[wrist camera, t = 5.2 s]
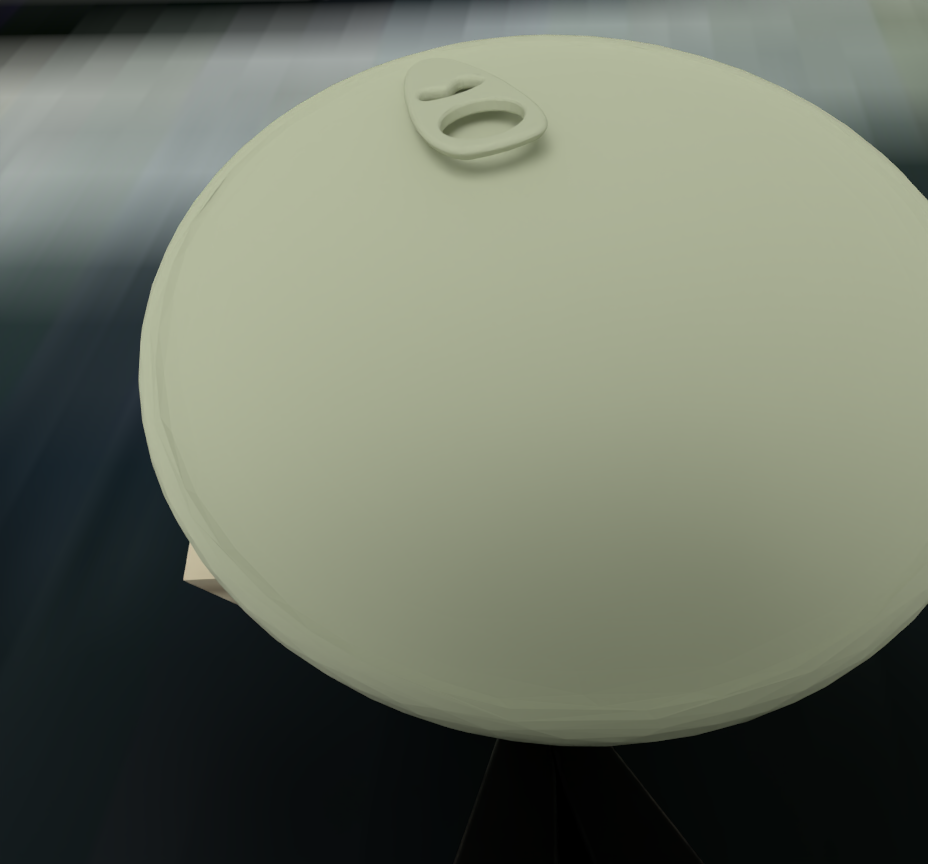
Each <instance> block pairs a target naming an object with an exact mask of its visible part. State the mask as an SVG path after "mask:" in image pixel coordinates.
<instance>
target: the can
mask: <svg viewBox="0 0 928 864" xmlns="http://www.w3.org/2000/svg"><path fill="white" fill-rule="evenodd" d="M139 390H140V401H141V412H142V422H143V426H144V431H145V435H146V439H147V444H148V448H149V452H150V457H151V461H152V464H153V467H154V469H155V472H156V475H157V478H158V481H159V483H160V486H161V489H162V492H163V495H164V497H165V498H166V500H167V502H168V504H169V506H170V508H171V510H172V512H173V514H174V516H175V518H176V520H177V522H178V523H179V525H180V527H181V528H182V530H183V532H184V533H185V535H186V537H187V538H188V540H189V542H190V543H191V545H192V546H193V548H194V550H195V551H196V553H197V555H198V556H199V558H200V559H201V561H202V562H203V564H204V565H205V566H206V568H207V569H208V570H209V571H210V573H211V574H212V575H213V576H214V578H215V579H216V580H217V581H218V583H219V584H220V585H221V586H222V587H223V588H224V589H225V591H226V592H227V593H228V594H229V595H230V596H231V597H232V598H233V599H234V600H235V602H236V603H237V604H238V605H239V606H240V607H241V608H242V609H243V610H244V611H245V612H246V613H247V614H248V615H249V616H250V617H251V618H252V619H253V620H254V621H256V622H257V623H258V624H259V625H260V626H261V627H262V628H263V629H264V630H266V631H267V632H268V633H269V634H270V635H271V636H272V637H273V638H275V639H276V640H277V641H278V642H280V643H281V644H282V645H284V646H285V647H286V648H288V649H289V650H291V651H292V652H294V653H295V654H297V655H298V656H300V657H301V658H303V659H304V660H306V661H307V662H309V663H310V664H312V665H313V666H315V667H316V668H318V669H319V670H321V671H322V672H324V673H325V674H327V675H328V676H330V677H332V678H334V679H336V680H337V681H339V682H341V683H343V684H345V685H347V686H348V687H350V688H352V689H354V690H356V691H358V692H359V693H361V694H363V695H365V696H367V697H368V698H370V699H373V700H375V701H378V702H380V703H382V704H385V705H387V706H389V707H392V708H394V709H396V710H399V711H401V712H404V713H406V714H409V715H412V716H415V717H418V718H421V719H424V720H427V721H430V722H433V723H436V724H439V725H442V726H445V727H448V728H452V729H456V730H460V731H464V732H468V733H473V734H479V735H484V736H489V737H494V738H499V739H504V740H510V741H517V742H526V743H536V744H545V745H555V746H615V745H625V744H636V743H646V742H656V741H663V740H669V739H675V738H682V737H688V736H695V735H699V734H702V733H706V732H710V731H713V730H717V729H721V728H725V727H728V726H732V725H736V724H739V723H743V722H747V721H749V720H752V719H754V718H757V717H760V716H762V715H765V714H767V713H770V712H772V711H775V710H777V709H780V708H782V707H785V706H787V705H790V704H792V703H795V702H797V701H799V700H801V699H802V698H804V697H806V696H808V695H810V694H812V693H814V692H816V691H818V690H820V689H822V688H824V687H826V686H828V685H829V684H831V683H832V682H834V681H835V680H837V679H838V678H840V677H841V676H843V675H845V674H846V673H848V672H849V671H851V670H852V669H854V668H855V667H857V666H858V665H860V664H861V663H863V662H864V661H866V660H867V659H869V658H870V657H871V656H873V655H874V654H875V653H876V652H878V651H879V650H880V649H881V648H883V647H884V646H885V645H886V644H887V643H888V642H889V641H891V640H892V639H893V638H894V637H895V636H896V635H897V634H898V633H900V632H901V631H902V630H903V629H904V628H905V627H906V626H907V625H909V624H910V623H911V622H912V621H913V620H914V619H915V618H916V617H917V615H918V614H919V613H920V612H921V611H922V609H923V608H924V607H925V606H926V605H927V604H928V200H927V199H926V198H925V197H924V196H923V195H922V194H921V193H920V192H919V191H918V190H917V188H916V187H915V186H914V185H913V184H912V183H911V182H910V181H909V180H908V179H907V177H906V176H905V175H904V174H903V173H902V172H901V171H900V170H899V169H898V168H897V167H896V166H895V165H894V164H893V163H892V162H891V161H889V160H888V159H887V158H886V157H885V156H884V155H883V154H882V153H881V152H879V151H878V150H877V149H876V148H874V147H873V146H872V145H871V144H869V143H868V142H867V141H866V140H864V139H863V138H862V137H861V136H859V135H858V134H857V133H856V132H854V131H853V130H852V129H851V128H849V127H848V126H847V125H845V124H844V123H842V122H840V121H839V120H837V119H836V118H834V117H833V116H831V115H830V114H828V113H826V112H825V111H823V110H822V109H820V108H819V107H817V106H816V105H814V104H812V103H810V102H808V101H806V100H805V99H803V98H801V97H799V96H797V95H795V94H793V93H792V92H790V91H788V90H786V89H784V88H782V87H780V86H778V85H775V84H773V83H771V82H769V81H766V80H764V79H762V78H760V77H757V76H755V75H753V74H751V73H748V72H746V71H744V70H741V69H738V68H735V67H732V66H729V65H726V64H723V63H720V62H717V61H714V60H711V59H708V58H705V57H702V56H698V55H694V54H691V53H687V52H683V51H679V50H675V49H671V48H667V47H663V46H659V45H654V44H648V43H641V42H635V41H628V40H621V39H612V38H604V37H596V36H574V35H521V36H511V37H500V38H490V39H482V40H475V41H468V42H462V43H457V44H452V45H447V46H443V47H438V48H434V49H431V50H427V51H423V52H420V53H416V54H412V55H408V56H405V57H402V58H399V59H396V60H392V61H389V62H387V63H384V64H381V65H378V66H375V67H373V68H370V69H368V70H365V71H363V72H361V73H358V74H356V75H354V76H352V77H349V78H347V79H345V80H343V81H341V82H338V83H336V84H334V85H332V86H330V87H328V88H326V89H325V90H323V91H321V92H319V93H318V94H316V95H314V96H312V97H311V98H309V99H307V100H305V101H304V102H302V103H300V104H298V105H297V106H295V107H294V108H292V109H291V110H290V111H288V112H287V113H285V114H284V115H282V116H281V117H279V118H278V119H276V120H275V121H273V122H272V123H271V124H270V125H268V126H267V127H266V128H265V129H264V130H262V131H261V132H260V133H259V134H258V135H256V136H255V137H254V138H253V139H251V140H250V141H249V142H248V143H247V144H245V145H244V146H243V147H242V148H241V149H240V150H239V151H238V152H237V153H236V154H235V155H234V156H233V157H232V158H231V159H230V160H229V161H228V162H227V163H226V164H225V165H224V166H223V167H222V168H221V169H220V170H219V172H218V173H217V174H216V175H215V176H214V177H213V179H212V180H211V181H210V182H209V184H208V185H207V186H206V187H205V189H204V190H203V191H202V193H201V194H200V195H199V196H198V198H197V199H196V200H195V201H194V203H193V204H192V206H191V207H190V209H189V211H188V212H187V214H186V215H185V217H184V219H183V220H182V222H181V223H180V225H179V226H178V228H177V230H176V232H175V234H174V236H173V238H172V240H171V242H170V244H169V246H168V248H167V250H166V252H165V255H164V257H163V260H162V262H161V264H160V267H159V269H158V272H157V274H156V277H155V279H154V282H153V284H152V288H151V292H150V296H149V300H148V304H147V308H146V312H145V317H144V321H143V326H142V334H141V344H140V363H139Z"/></svg>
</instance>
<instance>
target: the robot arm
mask: <svg viewBox="0 0 928 864" xmlns="http://www.w3.org/2000/svg"><path fill="white" fill-rule="evenodd" d="M453 864H704V862H703V861H702V860H701V859H700V857H699V856H698V855H697V854H696V852H695V851H694V850H693V848H692V847H691V846H690V845H689V843H688V842H687V841H686V840H685V838H684V837H683V836H682V835H681V833H680V832H679V831H678V829H677V828H676V827H675V826H674V824H673V823H672V822H671V821H670V819H669V818H668V817H667V815H666V814H665V813H664V812H663V810H662V809H661V808H660V807H659V805H658V804H657V803H656V801H655V800H654V799H653V798H652V796H651V795H650V794H649V793H648V791H647V790H646V789H645V787H644V786H643V785H642V784H641V782H640V781H639V780H638V779H637V777H636V776H635V775H634V773H633V772H632V771H631V770H630V768H629V767H628V766H627V765H626V763H625V762H624V761H623V759H622V758H621V757H620V756H619V754H618V753H617V752H616V751H615V749H614V748H613V747H612V746H555V745H545V744H536V743H526V742H517V741H510V740H504V739H499V738H497V740H496V743H495V746H494V749H493V752H492V754H491V757H490V760H489V763H488V766H487V769H486V771H485V774H484V777H483V780H482V783H481V786H480V788H479V791H478V794H477V797H476V800H475V802H474V805H473V808H472V811H471V814H470V817H469V819H468V822H467V825H466V828H465V831H464V834H463V836H462V839H461V842H460V845H459V848H458V851H457V853H456V856H455V859H454V862H453Z"/></svg>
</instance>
